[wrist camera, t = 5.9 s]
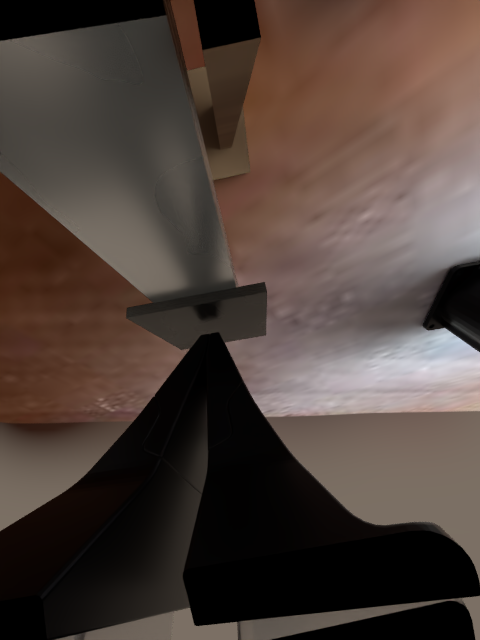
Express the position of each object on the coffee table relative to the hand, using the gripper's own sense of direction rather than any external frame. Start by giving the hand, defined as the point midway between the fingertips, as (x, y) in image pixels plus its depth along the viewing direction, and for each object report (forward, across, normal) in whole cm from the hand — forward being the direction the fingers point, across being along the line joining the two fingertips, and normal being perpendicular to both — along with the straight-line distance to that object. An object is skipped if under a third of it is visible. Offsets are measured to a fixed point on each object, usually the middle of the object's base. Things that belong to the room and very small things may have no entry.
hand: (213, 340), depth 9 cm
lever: (+1, 0, -11) cm, 11 cm away
